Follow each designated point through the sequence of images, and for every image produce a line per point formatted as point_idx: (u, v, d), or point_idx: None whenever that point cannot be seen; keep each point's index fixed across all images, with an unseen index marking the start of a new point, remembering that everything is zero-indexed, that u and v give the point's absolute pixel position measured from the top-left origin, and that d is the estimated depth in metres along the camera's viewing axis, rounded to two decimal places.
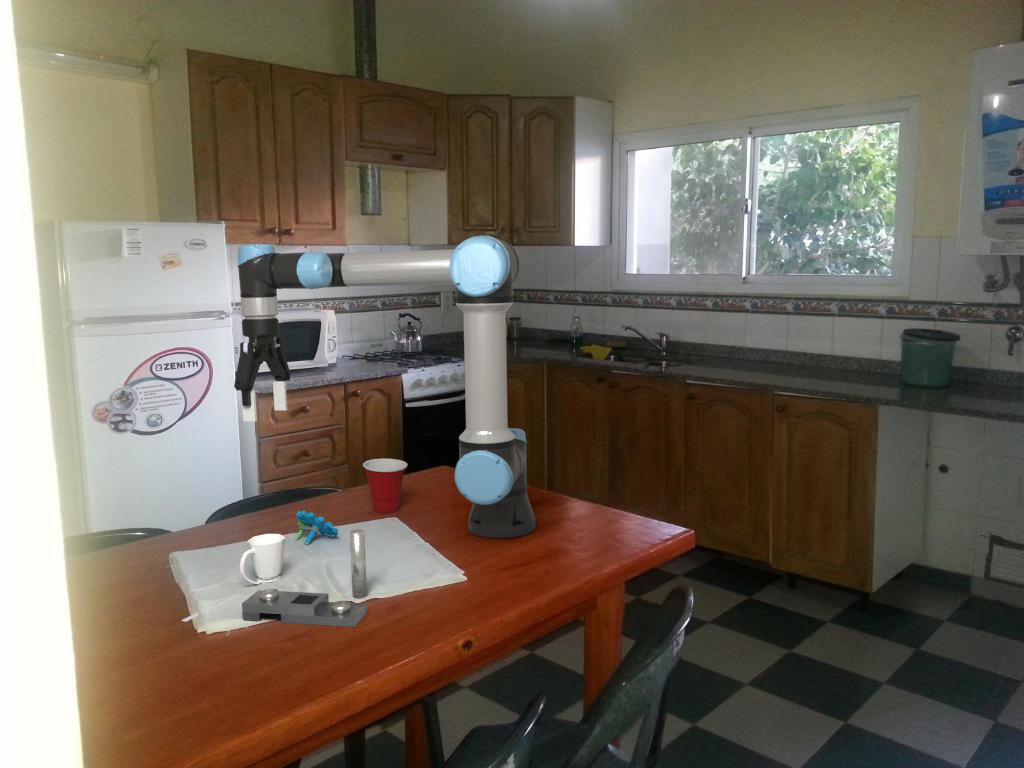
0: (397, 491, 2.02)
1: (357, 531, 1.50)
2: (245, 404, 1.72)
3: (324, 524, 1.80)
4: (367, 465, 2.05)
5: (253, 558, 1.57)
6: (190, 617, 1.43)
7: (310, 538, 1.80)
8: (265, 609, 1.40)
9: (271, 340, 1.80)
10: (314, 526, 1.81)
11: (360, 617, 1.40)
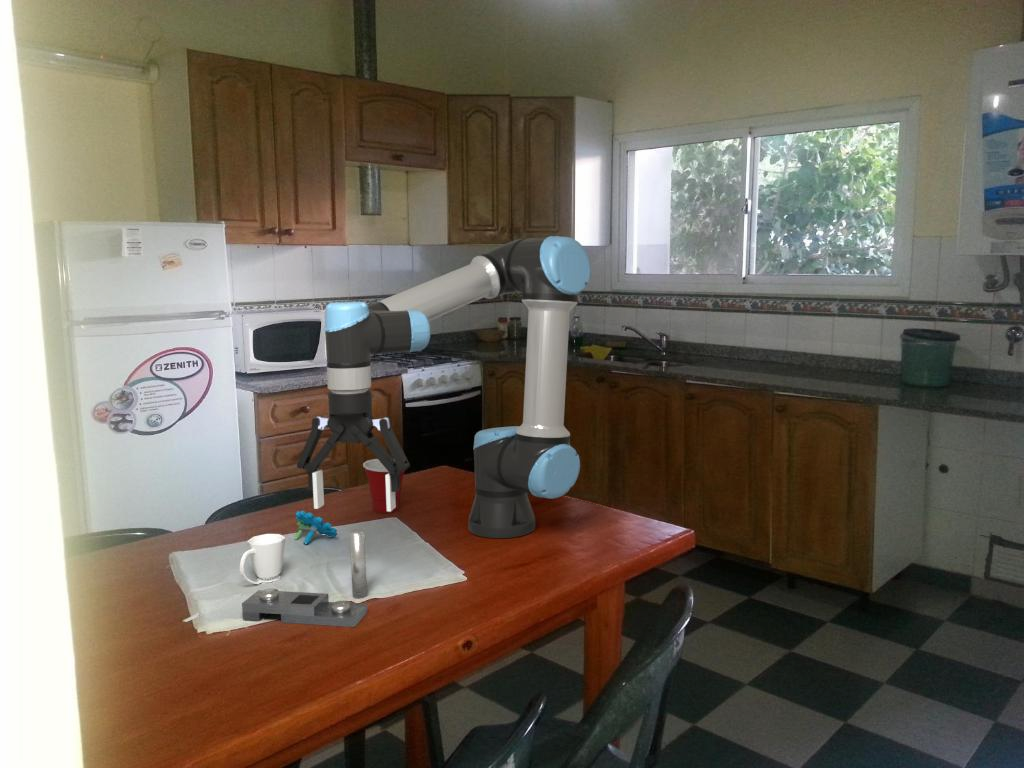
0: (397, 491, 2.02)
1: (357, 531, 1.50)
2: None
3: (323, 524, 1.80)
4: (367, 465, 2.05)
5: (253, 558, 1.57)
6: (191, 617, 1.43)
7: (309, 538, 1.80)
8: (265, 609, 1.40)
9: (361, 420, 1.45)
10: (313, 526, 1.81)
11: (360, 617, 1.40)
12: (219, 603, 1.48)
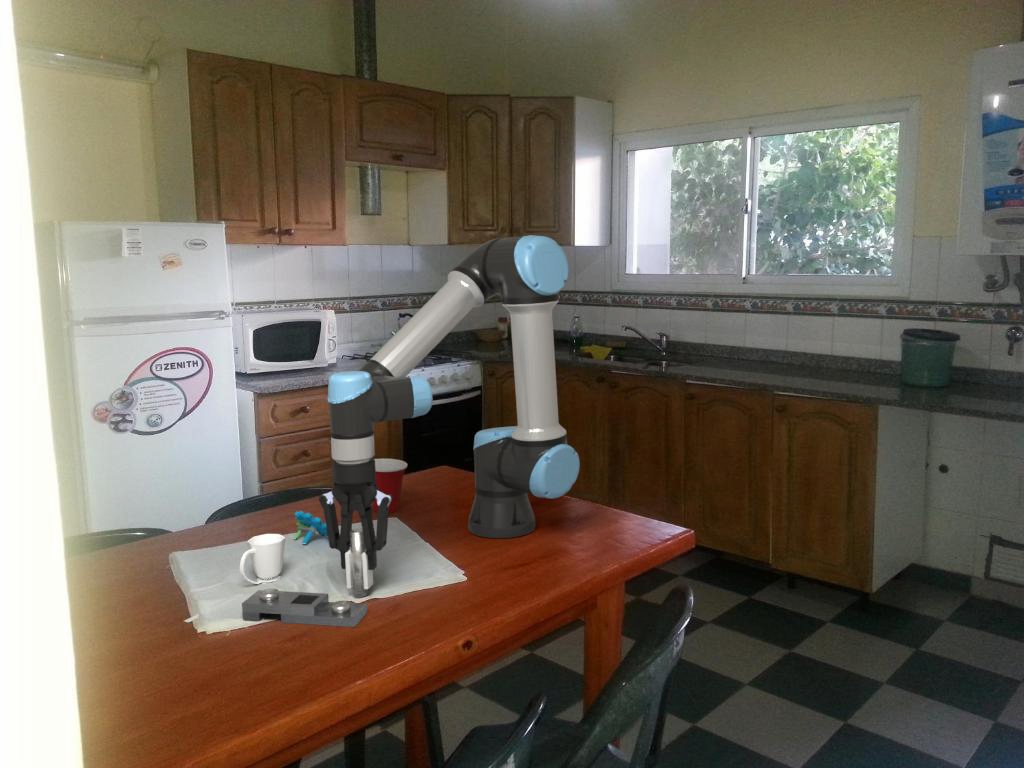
0: (397, 491, 2.02)
1: (357, 530, 1.50)
2: None
3: (321, 525, 1.80)
4: None
5: (253, 558, 1.57)
6: (193, 618, 1.42)
7: (307, 538, 1.80)
8: (265, 609, 1.40)
9: (367, 487, 1.47)
10: (312, 526, 1.81)
11: (360, 617, 1.40)
12: (220, 603, 1.48)
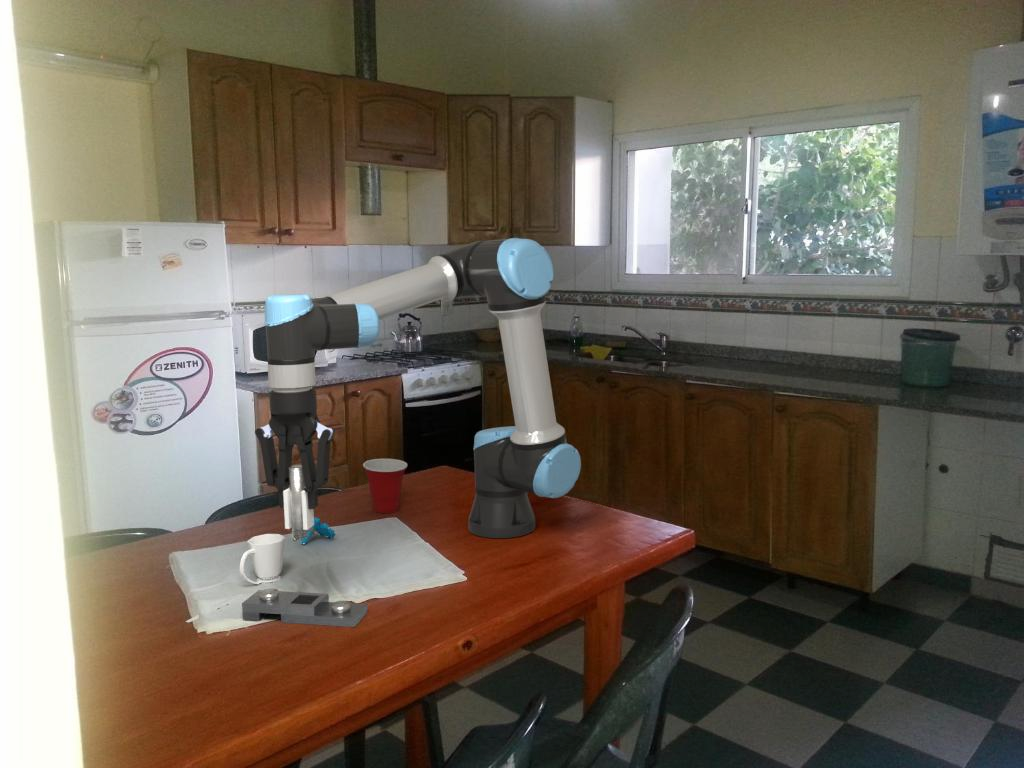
0: (397, 491, 2.02)
1: (297, 466, 1.39)
2: None
3: (320, 525, 1.80)
4: (367, 465, 2.05)
5: (253, 558, 1.57)
6: (194, 618, 1.42)
7: (306, 539, 1.80)
8: (265, 609, 1.40)
9: (307, 419, 1.36)
10: (311, 527, 1.81)
11: (360, 617, 1.40)
12: (221, 603, 1.48)
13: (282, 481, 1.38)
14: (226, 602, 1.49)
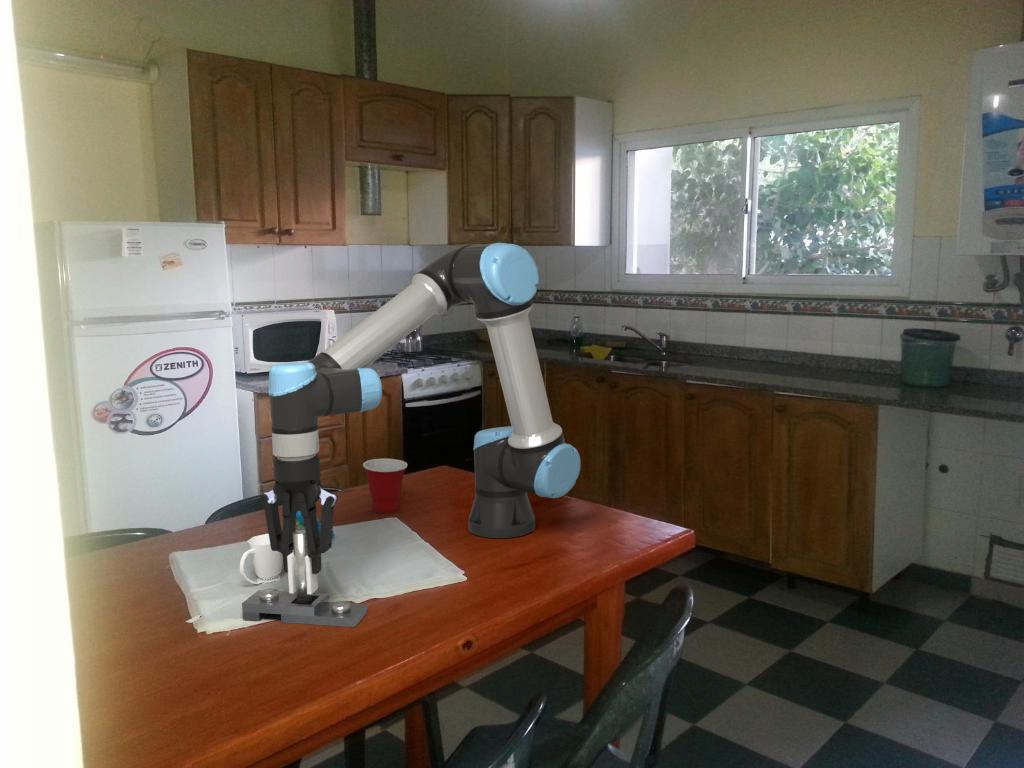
0: (397, 491, 2.02)
1: (301, 531, 1.40)
2: None
3: (319, 525, 1.80)
4: (367, 465, 2.05)
5: (253, 558, 1.57)
6: (195, 618, 1.42)
7: None
8: (265, 609, 1.40)
9: (310, 486, 1.38)
10: None
11: (360, 617, 1.40)
12: (222, 604, 1.48)
13: (286, 546, 1.40)
14: (227, 602, 1.49)
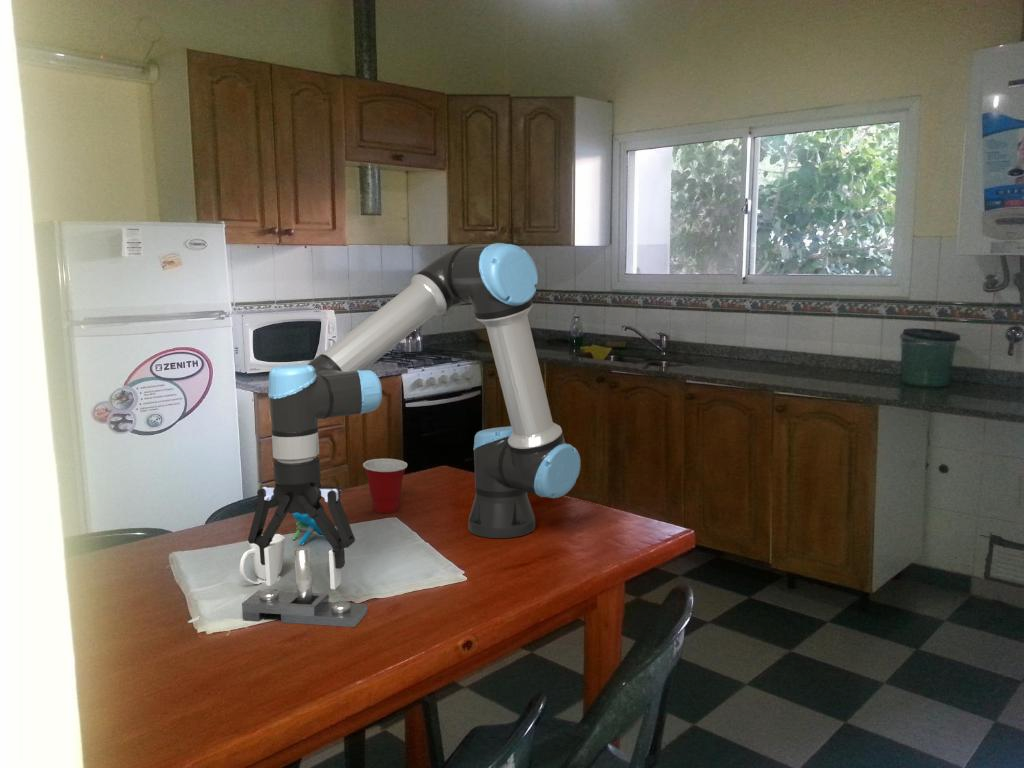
0: (397, 491, 2.02)
1: (302, 548, 1.41)
2: None
3: None
4: (367, 465, 2.05)
5: (253, 558, 1.57)
6: (196, 619, 1.42)
7: (305, 539, 1.80)
8: (265, 609, 1.40)
9: (309, 489, 1.38)
10: (309, 527, 1.81)
11: (360, 617, 1.40)
12: (223, 604, 1.48)
13: (265, 541, 1.40)
14: (228, 602, 1.49)
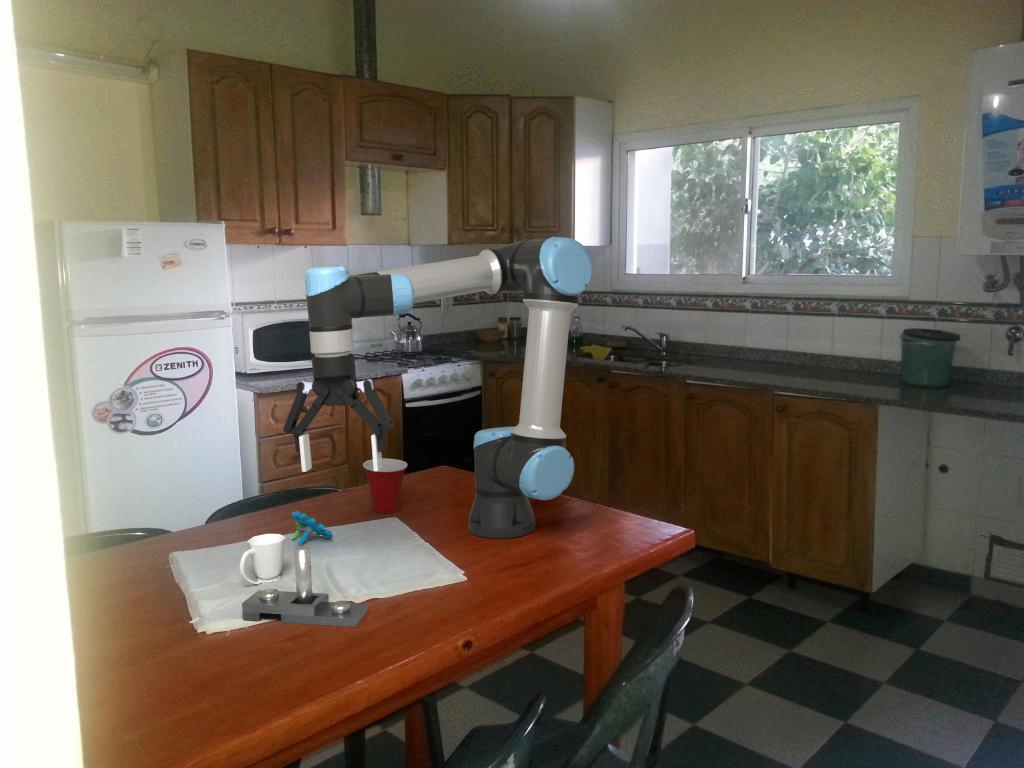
0: (397, 491, 2.02)
1: (302, 548, 1.41)
2: None
3: (317, 526, 1.79)
4: (367, 465, 2.05)
5: (253, 558, 1.57)
6: (197, 619, 1.42)
7: (303, 539, 1.80)
8: (265, 609, 1.40)
9: (345, 383, 1.48)
10: (308, 527, 1.80)
11: (360, 617, 1.40)
12: (224, 604, 1.48)
13: (300, 430, 1.50)
14: (229, 603, 1.48)
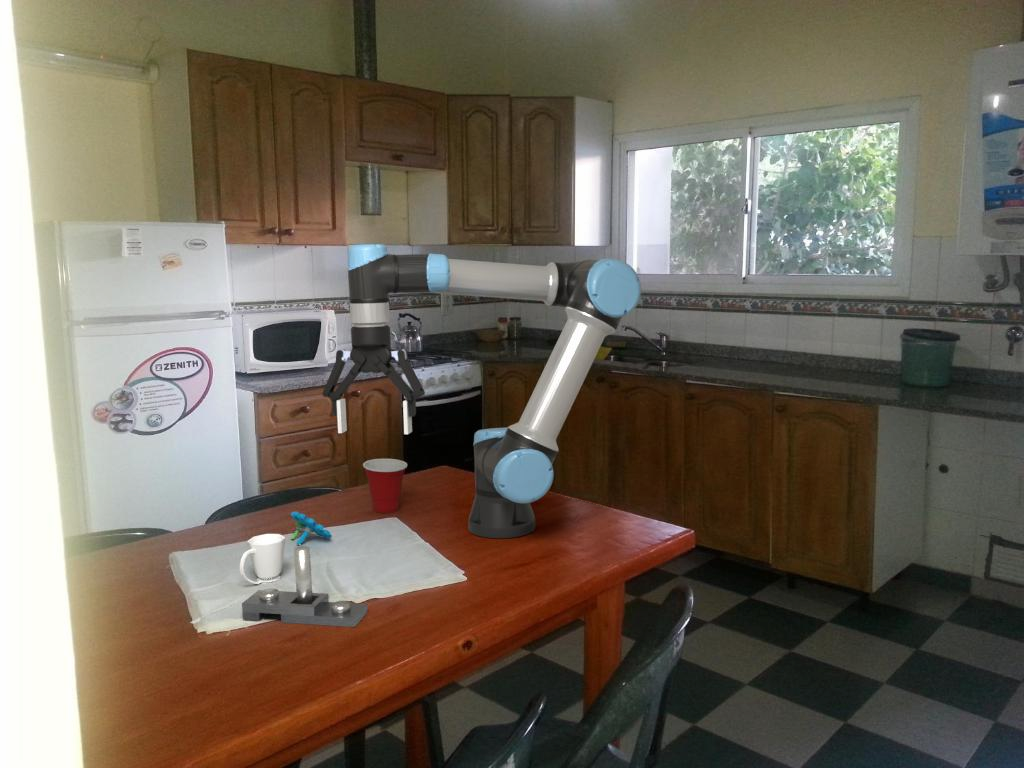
0: (397, 491, 2.02)
1: (302, 548, 1.41)
2: None
3: (316, 526, 1.79)
4: (367, 465, 2.05)
5: (253, 558, 1.57)
6: (198, 619, 1.42)
7: (302, 539, 1.80)
8: (265, 609, 1.40)
9: (381, 351, 1.61)
10: (307, 527, 1.80)
11: (360, 617, 1.40)
12: (225, 604, 1.48)
13: (338, 394, 1.63)
14: (230, 603, 1.48)
